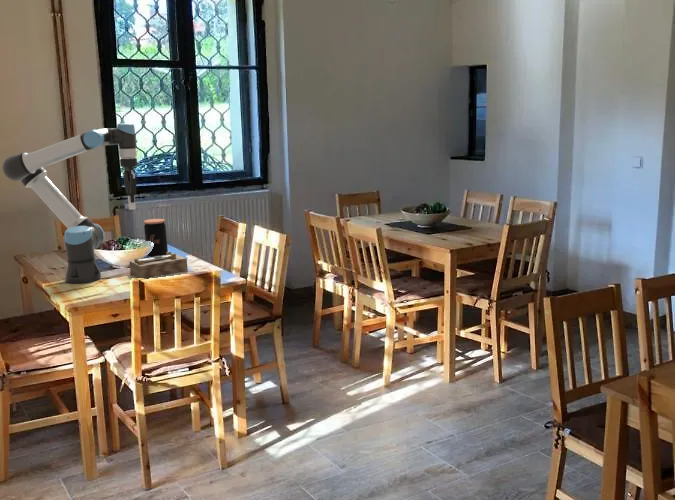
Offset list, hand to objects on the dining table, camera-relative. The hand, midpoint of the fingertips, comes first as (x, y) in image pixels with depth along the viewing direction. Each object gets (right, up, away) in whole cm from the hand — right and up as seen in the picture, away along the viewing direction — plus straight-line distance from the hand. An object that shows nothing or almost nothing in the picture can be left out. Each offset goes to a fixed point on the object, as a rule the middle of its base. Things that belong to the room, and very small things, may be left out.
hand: (132, 209), depth 328 cm
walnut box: (+12, -29, +1) cm, 32 cm away
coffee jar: (+2, -22, +38) cm, 44 cm away
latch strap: (+11, -23, -1) cm, 26 cm away
